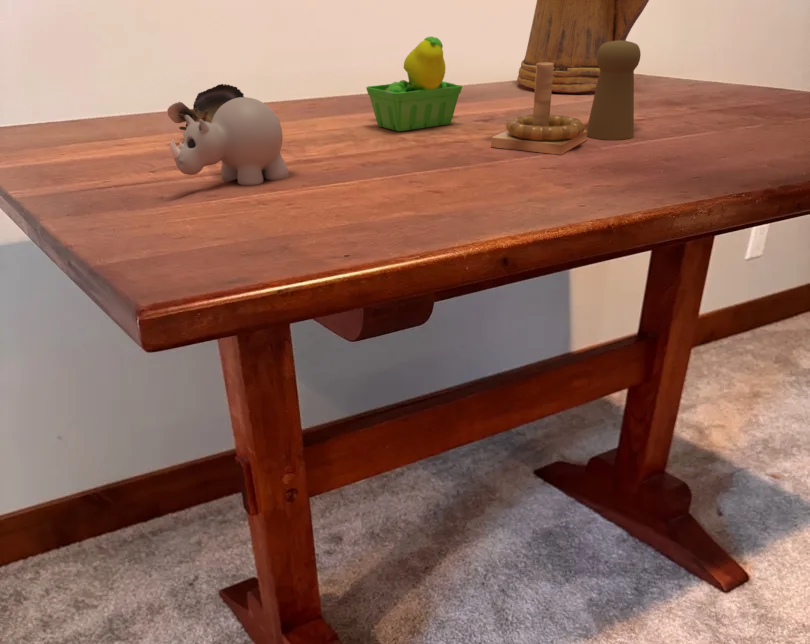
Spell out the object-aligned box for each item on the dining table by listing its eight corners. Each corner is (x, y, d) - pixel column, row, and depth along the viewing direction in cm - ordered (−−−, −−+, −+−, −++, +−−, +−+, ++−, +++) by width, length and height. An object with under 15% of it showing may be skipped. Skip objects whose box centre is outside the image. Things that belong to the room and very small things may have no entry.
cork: (585, 139, 100) (595, 43, 95) (585, 129, 105) (594, 38, 100) (635, 140, 99) (647, 43, 94) (632, 130, 105) (644, 38, 99)
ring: (593, 130, 99) (594, 117, 98) (567, 145, 92) (568, 130, 91) (524, 124, 103) (525, 111, 102) (494, 137, 96) (494, 123, 95)
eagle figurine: (229, 139, 97) (261, 112, 103) (189, 88, 94) (224, 63, 101) (191, 168, 101) (224, 141, 108) (152, 120, 99) (188, 95, 105)
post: (586, 140, 100) (594, 60, 95) (561, 154, 93) (568, 70, 88) (519, 133, 104) (524, 57, 99) (490, 147, 97) (494, 65, 92)
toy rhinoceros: (162, 191, 81) (147, 103, 77) (264, 172, 88) (256, 89, 83) (194, 206, 76) (180, 113, 72) (300, 184, 83) (293, 97, 78)
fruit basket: (430, 116, 115) (430, 30, 109) (470, 125, 109) (472, 34, 103) (364, 126, 109) (361, 35, 104) (402, 136, 103) (401, 41, 97)
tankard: (555, 75, 149) (568, -81, 136) (672, 88, 135) (698, -86, 122) (496, 87, 138) (504, -83, 125) (617, 102, 124) (639, -88, 111)
